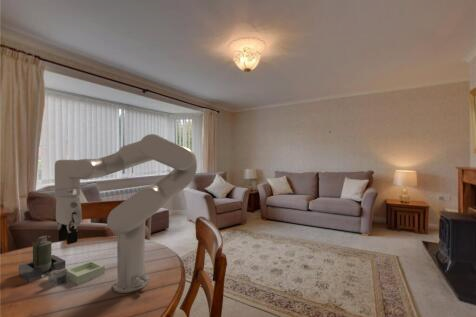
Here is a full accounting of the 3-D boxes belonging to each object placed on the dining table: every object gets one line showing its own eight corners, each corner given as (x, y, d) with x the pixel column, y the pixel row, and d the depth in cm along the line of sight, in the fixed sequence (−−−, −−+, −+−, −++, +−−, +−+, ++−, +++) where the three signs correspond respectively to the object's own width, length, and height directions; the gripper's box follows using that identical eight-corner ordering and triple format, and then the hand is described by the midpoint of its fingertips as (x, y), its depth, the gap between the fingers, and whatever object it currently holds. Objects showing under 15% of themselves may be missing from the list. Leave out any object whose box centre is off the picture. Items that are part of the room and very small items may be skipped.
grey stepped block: (66, 282, 89) (66, 269, 89) (55, 286, 86) (55, 273, 86) (57, 276, 93) (57, 264, 93) (46, 280, 90) (46, 267, 90)
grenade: (43, 268, 100) (43, 234, 100) (55, 269, 99) (55, 234, 99) (28, 275, 94) (28, 239, 94) (41, 276, 93) (41, 239, 93)
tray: (104, 273, 95) (104, 265, 95) (77, 284, 87) (77, 276, 87) (92, 267, 100) (92, 260, 100) (65, 277, 92) (65, 270, 92)
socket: (65, 269, 99) (65, 260, 99) (29, 282, 88) (29, 272, 88) (53, 263, 105) (53, 254, 105) (18, 274, 95) (18, 265, 95)
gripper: (90, 193, 83) (90, 242, 83) (68, 190, 92) (68, 234, 92) (66, 196, 77) (66, 249, 77) (45, 192, 86) (45, 240, 86)
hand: (67, 241), depth 84 cm, fingers open, 5 cm apart
